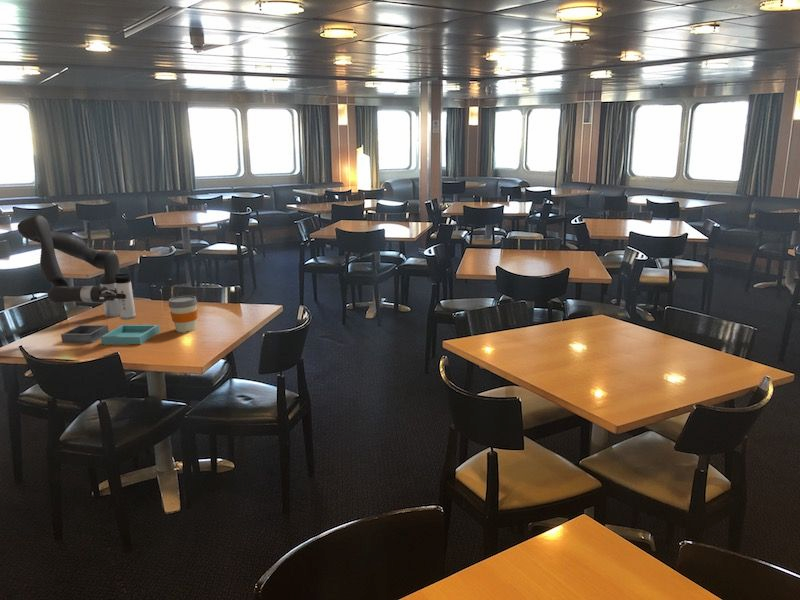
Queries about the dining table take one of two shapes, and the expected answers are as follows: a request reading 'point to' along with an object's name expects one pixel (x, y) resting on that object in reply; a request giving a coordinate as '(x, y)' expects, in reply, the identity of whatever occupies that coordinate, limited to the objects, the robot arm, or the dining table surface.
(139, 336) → the teal tray
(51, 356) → the dining table surface
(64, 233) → the robot arm
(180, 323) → the reusable coffee cup
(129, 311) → the travel mug
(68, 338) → the gray tray
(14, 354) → the dining table surface
